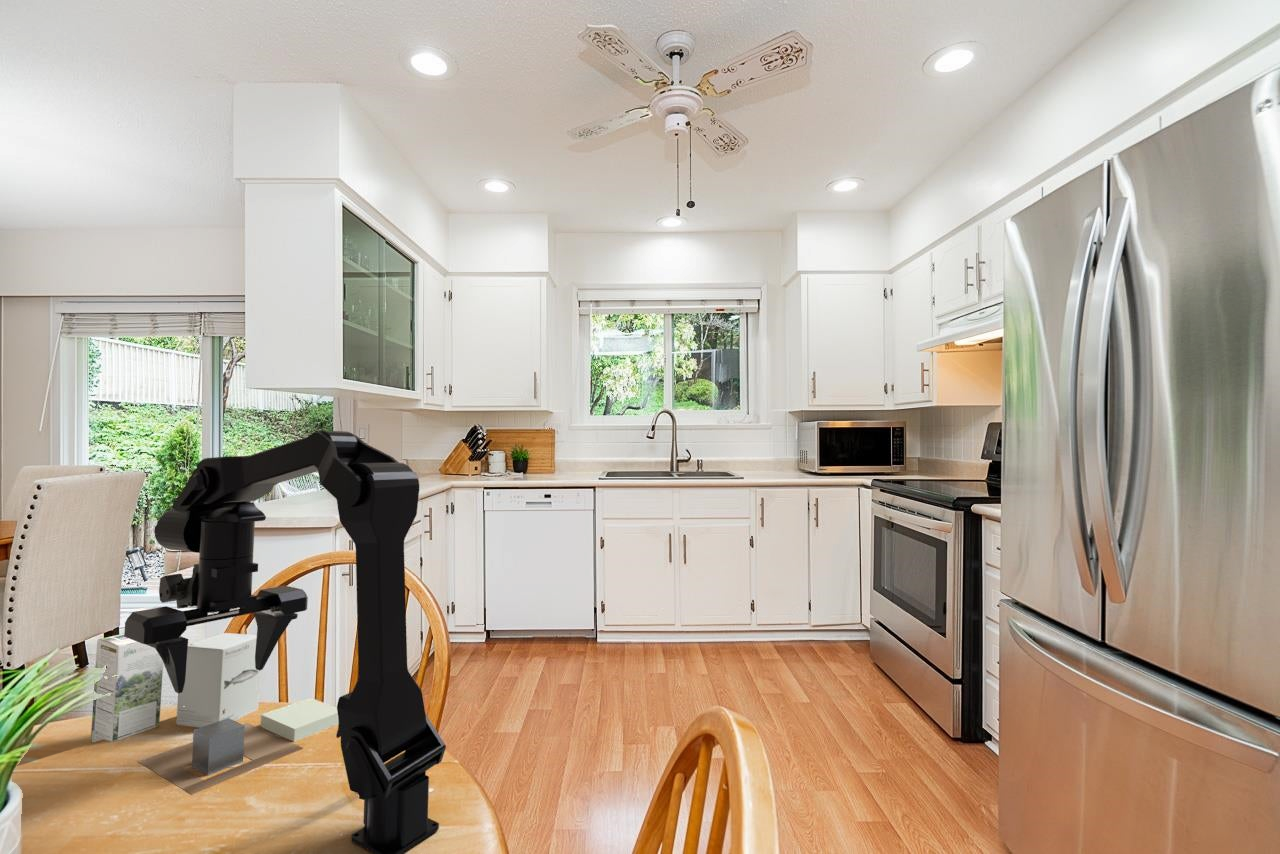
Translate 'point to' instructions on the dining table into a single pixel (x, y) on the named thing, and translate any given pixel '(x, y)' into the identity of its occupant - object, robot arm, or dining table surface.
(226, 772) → the walnut board
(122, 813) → the dining table surface
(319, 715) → the sage cover
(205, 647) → the supplement box
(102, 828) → the dining table surface
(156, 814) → the dining table surface
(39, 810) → the dining table surface
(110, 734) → the syrup box
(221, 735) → the grey block
